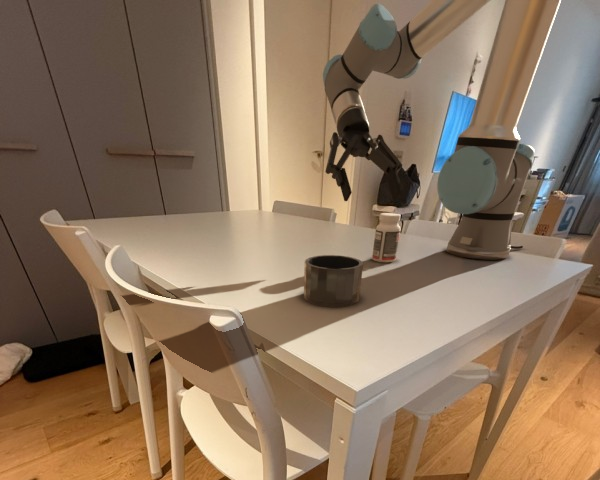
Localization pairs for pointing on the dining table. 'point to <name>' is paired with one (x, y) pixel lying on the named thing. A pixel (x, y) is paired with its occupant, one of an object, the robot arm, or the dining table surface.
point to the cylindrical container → (332, 280)
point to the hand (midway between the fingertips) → (373, 196)
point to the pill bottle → (386, 238)
